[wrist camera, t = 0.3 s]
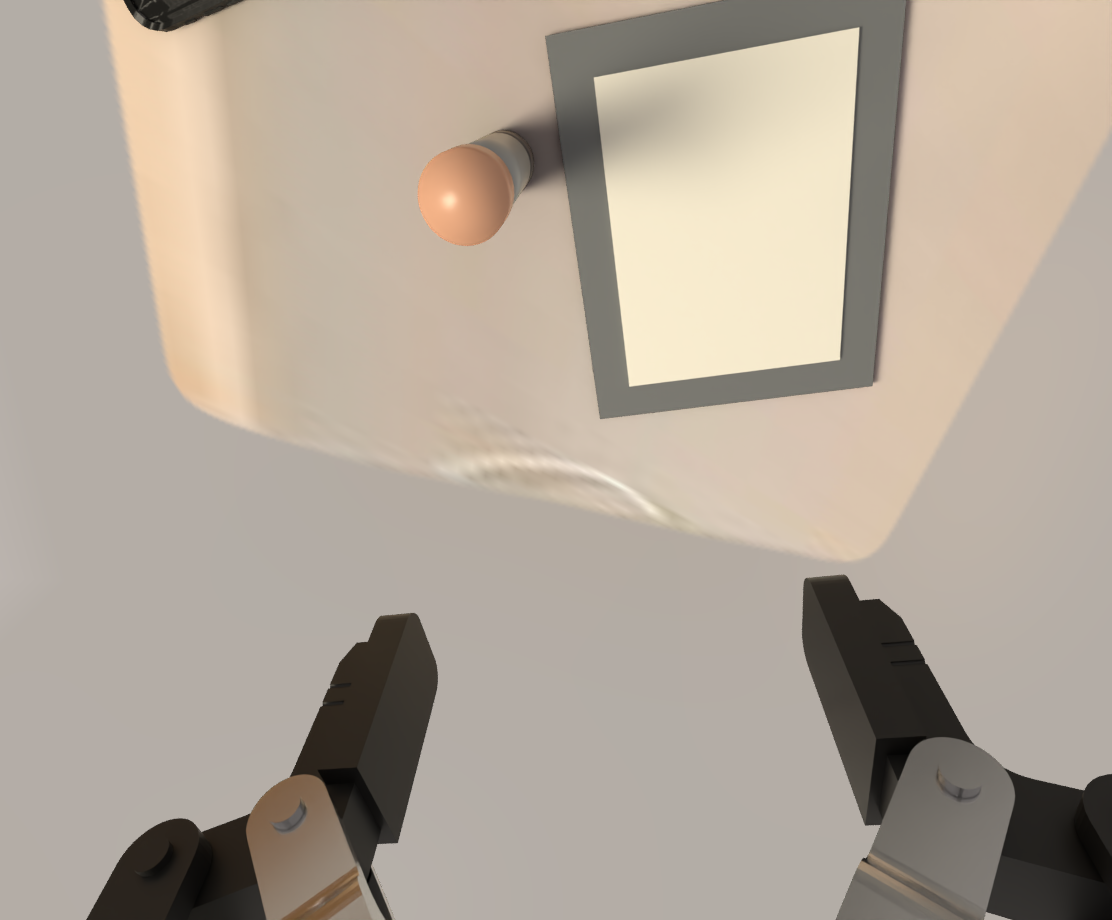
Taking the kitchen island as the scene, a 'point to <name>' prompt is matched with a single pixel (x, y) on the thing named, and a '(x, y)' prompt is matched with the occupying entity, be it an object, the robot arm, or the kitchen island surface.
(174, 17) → the phone
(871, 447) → the kitchen island surface
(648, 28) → the writing mat
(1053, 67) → the kitchen island surface
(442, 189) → the marker
